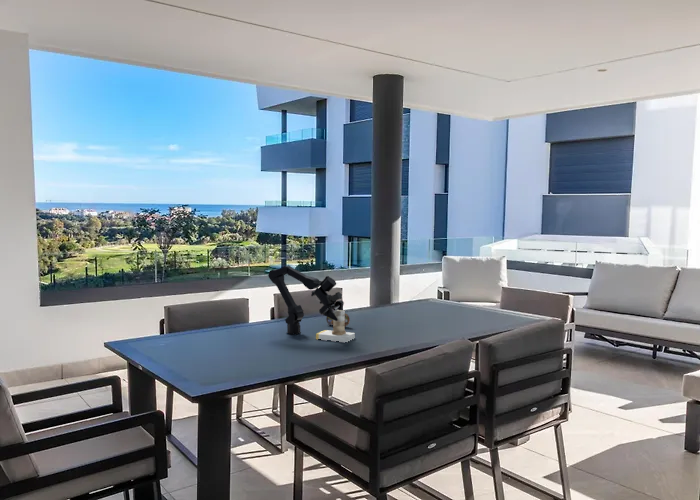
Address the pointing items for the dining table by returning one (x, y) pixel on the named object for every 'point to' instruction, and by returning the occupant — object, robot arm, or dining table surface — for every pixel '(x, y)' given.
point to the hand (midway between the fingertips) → (341, 319)
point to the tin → (330, 321)
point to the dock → (335, 336)
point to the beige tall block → (339, 322)
